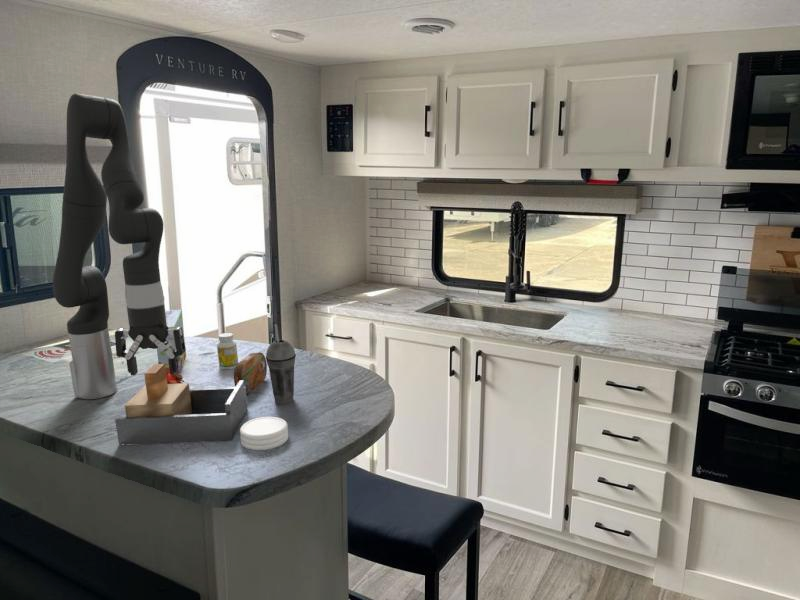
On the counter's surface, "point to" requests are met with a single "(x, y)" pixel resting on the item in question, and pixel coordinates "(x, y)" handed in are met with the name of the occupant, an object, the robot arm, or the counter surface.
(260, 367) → the tin
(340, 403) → the counter surface
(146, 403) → the wooden block with upright
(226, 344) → the supplement bottle
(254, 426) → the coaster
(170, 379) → the dragon fruit
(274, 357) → the beverage cup
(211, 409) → the bay
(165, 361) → the snack box
